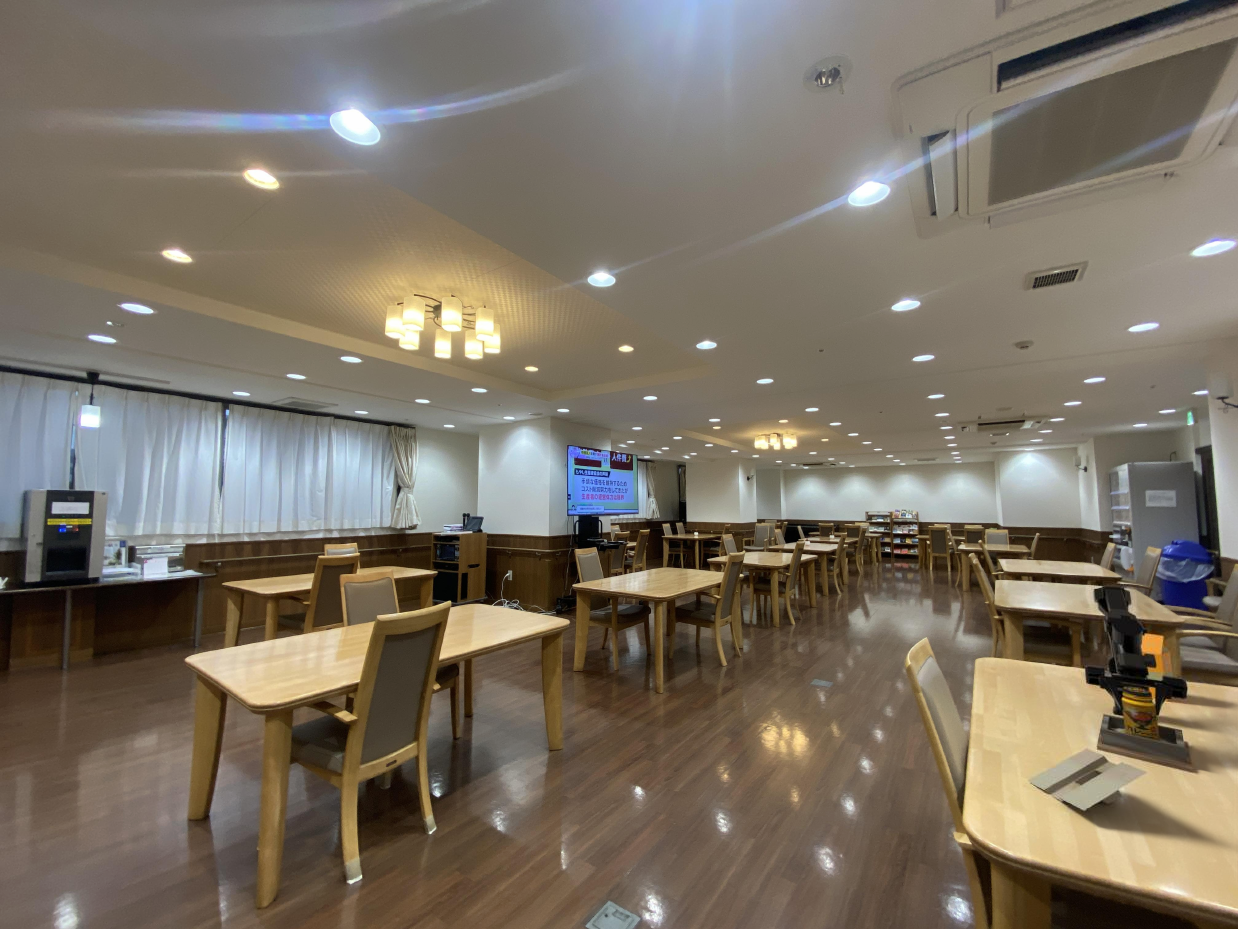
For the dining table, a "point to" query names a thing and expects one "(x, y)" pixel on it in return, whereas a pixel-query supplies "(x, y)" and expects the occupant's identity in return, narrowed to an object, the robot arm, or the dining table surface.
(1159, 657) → the orange juice
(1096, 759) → the grey slotted panel
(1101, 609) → the robot arm
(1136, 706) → the condiment
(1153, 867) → the dining table surface
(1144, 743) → the well caddy
